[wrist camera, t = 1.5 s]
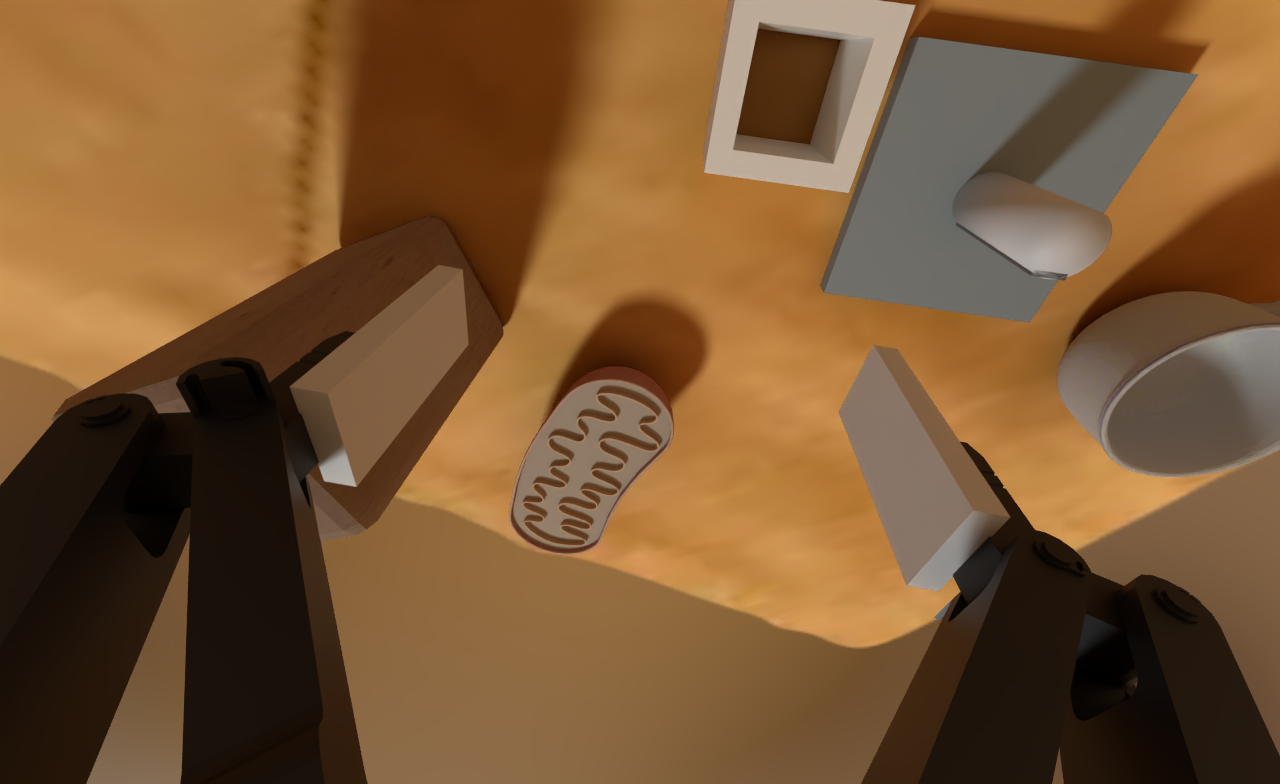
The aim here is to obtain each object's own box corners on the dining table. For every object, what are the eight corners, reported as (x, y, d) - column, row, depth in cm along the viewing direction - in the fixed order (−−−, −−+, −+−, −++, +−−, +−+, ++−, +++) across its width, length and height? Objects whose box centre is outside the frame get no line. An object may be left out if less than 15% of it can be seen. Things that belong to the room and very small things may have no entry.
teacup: (1047, 423, 38) (1119, 500, 31) (1017, 321, 33) (1094, 386, 27) (1283, 343, 32) (1430, 417, 26) (1287, 207, 27) (1468, 255, 21)
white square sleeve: (823, 168, 29) (848, 192, 24) (702, 152, 29) (704, 172, 24) (888, -38, 23) (939, -61, 18) (739, -58, 23) (749, -87, 18)
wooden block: (444, 208, 32) (194, 364, 16) (512, 331, 38) (374, 541, 22) (333, 249, 35) (23, 419, 19) (411, 359, 40) (221, 565, 24)
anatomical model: (592, 525, 51) (583, 565, 47) (506, 492, 50) (489, 531, 46) (696, 373, 38) (695, 411, 34) (584, 321, 37) (570, 355, 33)
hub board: (910, 37, 25) (1002, 31, 17) (1178, 73, 24) (1387, 83, 17) (820, 285, 33) (855, 353, 26) (1019, 314, 33) (1114, 391, 25)
